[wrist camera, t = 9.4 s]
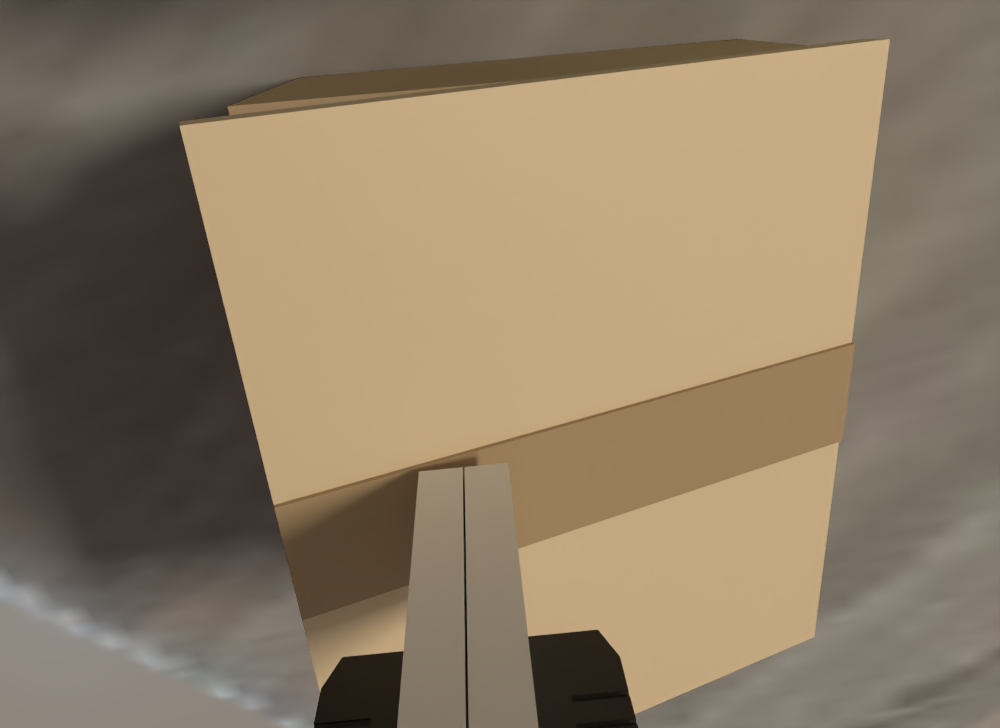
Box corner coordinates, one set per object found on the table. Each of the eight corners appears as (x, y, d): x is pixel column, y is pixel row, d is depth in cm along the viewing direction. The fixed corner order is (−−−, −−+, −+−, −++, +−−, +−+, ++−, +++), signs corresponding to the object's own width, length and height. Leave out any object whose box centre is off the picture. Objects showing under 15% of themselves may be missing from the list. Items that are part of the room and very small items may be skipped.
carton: (299, 77, 21) (227, 106, 14) (738, 38, 21) (860, 49, 14) (375, 503, 27) (349, 657, 20) (717, 471, 27) (797, 615, 20)
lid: (178, 122, 10) (179, 126, 10) (863, 39, 14) (894, 39, 14) (349, 810, 16) (356, 838, 16) (797, 622, 20) (817, 639, 20)
